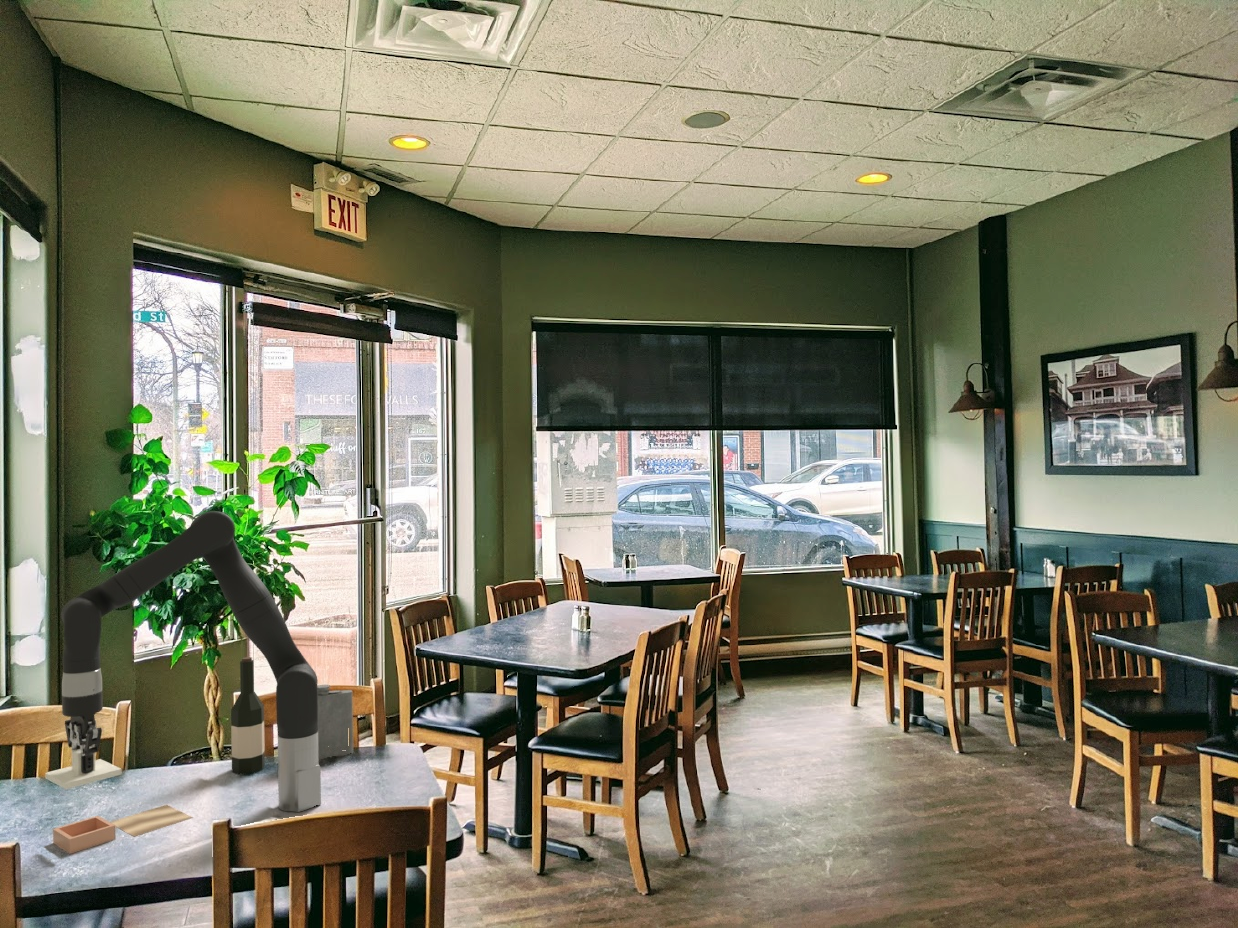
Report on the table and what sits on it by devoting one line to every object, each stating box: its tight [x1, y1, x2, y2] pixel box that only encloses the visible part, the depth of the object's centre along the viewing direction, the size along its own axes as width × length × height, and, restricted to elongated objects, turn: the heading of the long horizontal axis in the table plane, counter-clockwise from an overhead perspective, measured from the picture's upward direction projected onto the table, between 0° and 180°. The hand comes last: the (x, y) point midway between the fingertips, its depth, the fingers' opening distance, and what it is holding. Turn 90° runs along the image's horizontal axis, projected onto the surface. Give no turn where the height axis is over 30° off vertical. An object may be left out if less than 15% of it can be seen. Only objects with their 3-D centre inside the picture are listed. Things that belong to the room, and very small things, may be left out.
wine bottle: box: [230, 656, 266, 775], centre depth 241 cm, size 8×8×30 cm
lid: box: [44, 749, 123, 790], centre depth 193 cm, size 11×11×6 cm
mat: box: [109, 804, 194, 838], centre depth 204 cm, size 13×13×1 cm
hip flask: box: [317, 684, 354, 761], centre depth 250 cm, size 16×4×20 cm, turn 124°
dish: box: [52, 815, 117, 855], centre depth 193 cm, size 9×9×4 cm
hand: (83, 769), depth 193 cm, fingers closed on lid, 3 cm apart
